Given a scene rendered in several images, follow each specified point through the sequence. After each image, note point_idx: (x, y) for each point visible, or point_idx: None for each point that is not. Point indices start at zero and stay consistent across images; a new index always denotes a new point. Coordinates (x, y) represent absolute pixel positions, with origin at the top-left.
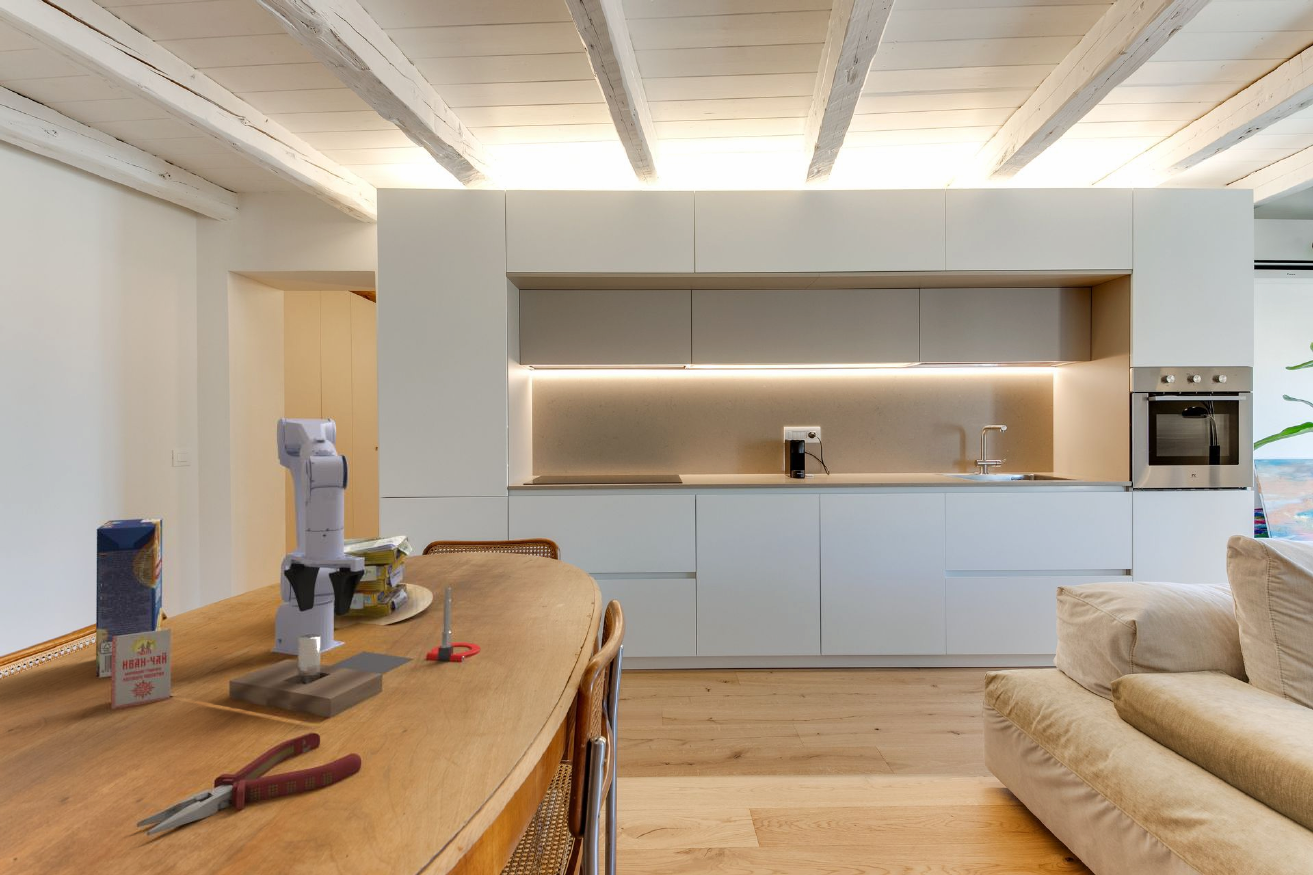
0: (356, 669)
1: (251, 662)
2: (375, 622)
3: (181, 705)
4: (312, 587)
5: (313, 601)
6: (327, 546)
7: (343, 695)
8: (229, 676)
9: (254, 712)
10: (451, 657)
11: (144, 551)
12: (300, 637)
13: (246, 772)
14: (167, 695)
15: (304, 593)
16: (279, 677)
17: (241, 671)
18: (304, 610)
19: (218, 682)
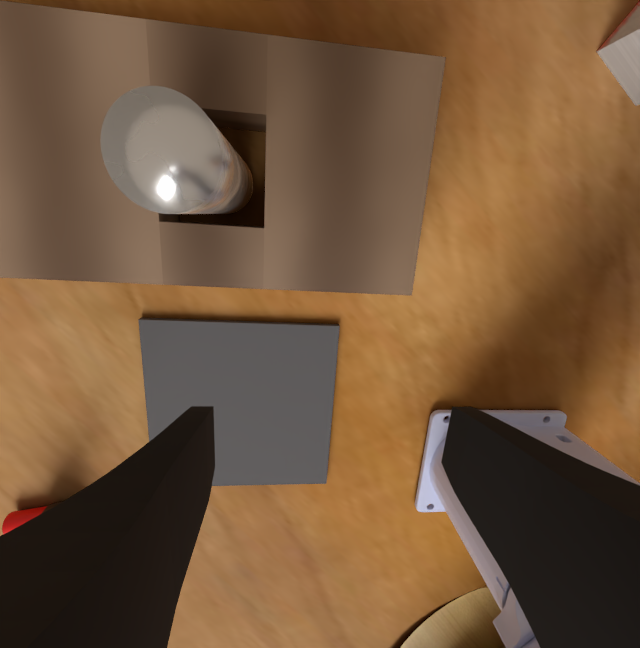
0: (242, 378)
1: (562, 343)
2: (445, 632)
3: (529, 14)
4: (516, 571)
5: (458, 494)
6: None
7: None
8: (550, 244)
9: (279, 26)
10: (36, 515)
11: None
12: (204, 127)
13: None
14: (611, 41)
15: (512, 490)
16: (303, 140)
17: (544, 284)
18: (450, 417)
19: (549, 199)
